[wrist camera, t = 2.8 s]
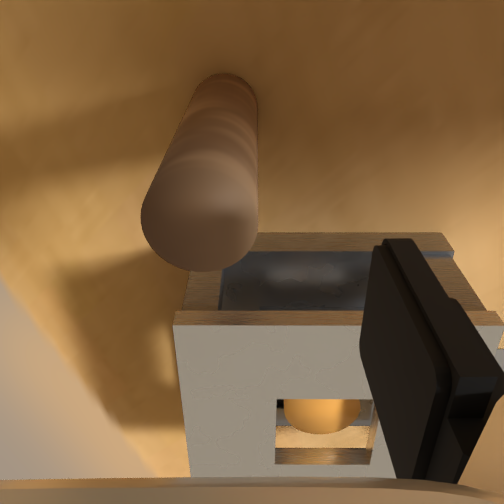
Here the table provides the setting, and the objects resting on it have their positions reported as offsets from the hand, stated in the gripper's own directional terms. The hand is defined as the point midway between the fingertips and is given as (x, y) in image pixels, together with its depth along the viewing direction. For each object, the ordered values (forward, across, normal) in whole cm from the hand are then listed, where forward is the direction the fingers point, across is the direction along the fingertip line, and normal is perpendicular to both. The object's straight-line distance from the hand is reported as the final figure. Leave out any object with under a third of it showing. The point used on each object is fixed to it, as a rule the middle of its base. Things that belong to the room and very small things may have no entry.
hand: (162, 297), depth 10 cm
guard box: (+15, -6, +14) cm, 21 cm away
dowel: (+15, -1, 0) cm, 15 cm away
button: (+11, -6, +14) cm, 18 cm away
